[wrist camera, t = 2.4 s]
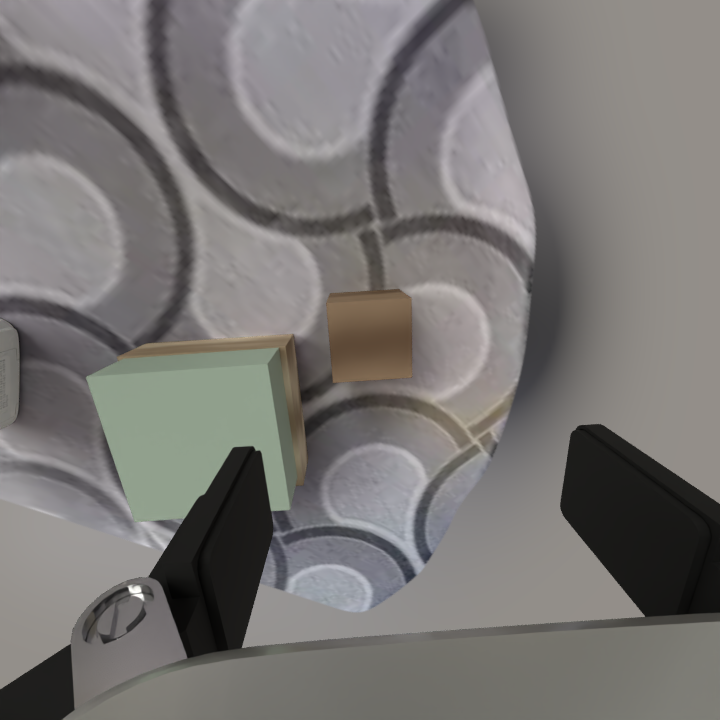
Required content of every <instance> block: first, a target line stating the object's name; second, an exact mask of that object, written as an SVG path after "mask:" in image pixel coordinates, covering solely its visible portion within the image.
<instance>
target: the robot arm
mask: <svg viewBox="0 0 720 720" xmlns="http://www.w3.org/2000/svg"><path fill="white" fill-rule="evenodd" d="M560 507H561V511H562V514H563V516H564V517H565V519H566V520H567V521H568V522H569V524H570V525H571V526H572V527H573V528H574V530H575V531H576V532H577V533H578V535H579V536H580V537H581V538H582V540H583V541H584V542H585V543H586V544H587V546H588V547H589V548H590V549H591V551H593V553H594V554H595V555H596V556H597V558H598V559H599V560H600V562H601V563H602V564H603V565H604V566H605V568H606V569H607V570H608V571H609V573H610V574H611V575H612V576H613V577H614V579H615V580H616V581H617V582H618V584H620V586H621V587H622V588H623V590H624V591H625V592H626V593H627V595H628V596H629V597H630V598H631V599H632V601H633V602H634V603H635V604H636V605H637V607H638V608H639V609H640V610H641V612H642V613H643V614H644V615H645V617H638V618H622V619H606V620H590V621H576V622H562V623H546V624H532V625H517V626H503V627H489V628H475V629H462V630H461V629H460V630H446V631H433V632H420V633H407V634H395V635H382V636H381V635H380V636H368V637H354V638H341V639H328V640H317V641H307V642H296V643H286V644H275V645H265V646H255V647H247V648H242V645H243V641H244V637H245V634H246V630H247V626H248V623H249V619H250V616H251V612H252V608H253V605H254V601H255V597H256V594H257V590H258V586H259V583H260V579H261V576H262V572H263V568H264V565H265V561H266V558H267V554H268V550H269V547H270V543H271V539H272V535H273V520H272V514H271V508H270V501H269V495H268V489H267V483H266V477H265V471H264V464H263V458H262V453H261V451H260V450H258V451H256V450H255V448H254V446H244V447H233V448H232V450H231V451H230V453H229V455H228V456H227V458H226V460H225V461H224V463H223V465H222V466H221V468H220V469H219V471H218V473H217V474H216V476H215V478H214V479H213V481H212V483H211V484H210V486H209V488H208V489H207V491H206V493H205V494H204V495H201V496H199V498H198V499H197V500H196V501H195V503H194V505H193V506H192V508H191V509H190V511H189V513H188V514H187V516H186V517H185V519H184V521H183V522H182V524H181V525H180V527H179V529H178V530H177V532H176V533H175V535H174V537H173V538H172V540H171V541H170V543H169V545H168V546H167V548H166V549H165V551H164V553H163V554H162V556H161V558H160V559H159V561H158V562H157V564H156V565H155V567H154V569H153V570H152V572H151V573H150V575H149V577H146V578H145V577H139V578H135V579H131V580H127V581H125V582H123V583H121V584H118V585H116V586H114V587H112V588H111V589H109V590H108V591H106V592H105V593H103V594H102V595H100V596H99V597H98V598H97V599H96V600H95V601H94V602H92V603H91V604H90V605H89V606H88V607H87V609H86V610H85V611H84V612H83V613H82V614H81V616H80V617H79V619H78V620H77V622H76V624H75V626H74V628H73V631H72V636H71V644H70V645H68V646H66V647H65V648H63V649H62V650H60V651H59V652H57V653H56V654H54V655H53V656H51V657H50V658H48V659H47V660H45V661H43V662H42V663H40V664H39V665H37V666H36V667H34V668H33V669H31V670H30V671H28V672H27V673H25V674H23V675H22V676H20V677H19V678H17V679H16V680H14V681H13V682H11V683H10V684H8V685H7V686H5V687H3V688H2V689H0V720H720V504H719V503H717V502H716V501H715V500H713V499H711V498H710V497H709V496H707V495H706V494H704V493H703V492H701V491H700V490H698V489H697V488H695V487H694V486H692V485H691V484H689V483H688V482H686V481H685V480H683V479H682V478H680V477H679V476H677V475H676V474H675V473H673V472H672V471H670V470H669V469H667V468H666V467H664V466H663V465H661V464H660V463H658V462H657V461H655V460H654V459H652V458H651V457H649V456H648V455H646V454H645V453H643V452H642V451H640V450H639V449H637V448H636V447H634V446H633V445H631V444H630V443H628V442H627V441H626V440H624V439H622V438H621V437H620V436H618V435H617V434H615V433H614V432H612V431H611V430H609V429H608V428H606V427H605V426H603V425H601V424H593V425H580V426H578V427H577V428H576V430H575V431H573V432H572V433H571V437H570V443H569V449H568V457H567V463H566V469H565V476H564V483H563V489H562V496H561V503H560Z"/></svg>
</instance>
